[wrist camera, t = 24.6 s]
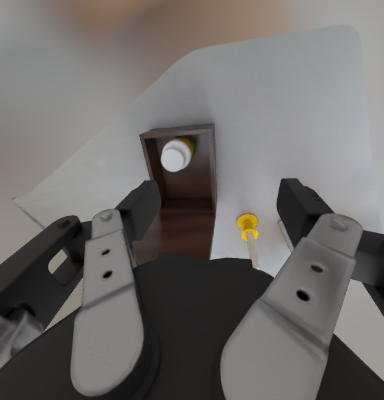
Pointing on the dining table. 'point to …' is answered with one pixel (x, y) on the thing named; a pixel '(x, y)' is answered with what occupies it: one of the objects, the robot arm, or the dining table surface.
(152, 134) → the chest
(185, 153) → the supplement bottle
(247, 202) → the dining table surface
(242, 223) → the candle
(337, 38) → the dining table surface
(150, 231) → the lid
